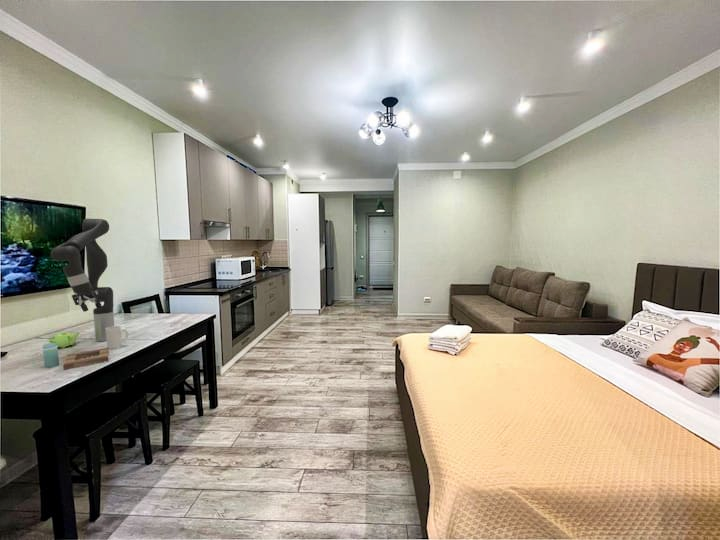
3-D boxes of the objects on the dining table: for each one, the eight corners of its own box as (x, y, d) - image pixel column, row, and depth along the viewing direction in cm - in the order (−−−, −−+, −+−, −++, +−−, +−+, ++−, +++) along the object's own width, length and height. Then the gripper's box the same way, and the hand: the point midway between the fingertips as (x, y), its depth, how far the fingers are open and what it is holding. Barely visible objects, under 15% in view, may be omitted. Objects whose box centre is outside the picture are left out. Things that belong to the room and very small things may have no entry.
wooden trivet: (68, 359, 147) (67, 354, 147) (108, 351, 157) (108, 347, 157) (63, 369, 135) (63, 365, 135) (108, 361, 145) (107, 356, 145)
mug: (104, 350, 159) (103, 329, 158) (109, 346, 165) (108, 326, 164) (126, 347, 163) (125, 327, 162) (130, 344, 169) (129, 324, 168)
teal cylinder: (45, 365, 139) (43, 344, 138) (59, 362, 142) (57, 341, 141) (43, 368, 136) (41, 346, 135) (58, 366, 139) (56, 344, 138)
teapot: (75, 347, 163) (74, 333, 162) (47, 351, 156) (45, 336, 156) (81, 341, 172) (79, 328, 171) (54, 345, 166) (53, 331, 165)
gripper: (98, 278, 153) (110, 305, 157) (75, 282, 154) (88, 308, 159) (84, 283, 146) (98, 311, 150) (60, 287, 147) (74, 314, 152)
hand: (93, 310), depth 155 cm, fingers open, 8 cm apart
